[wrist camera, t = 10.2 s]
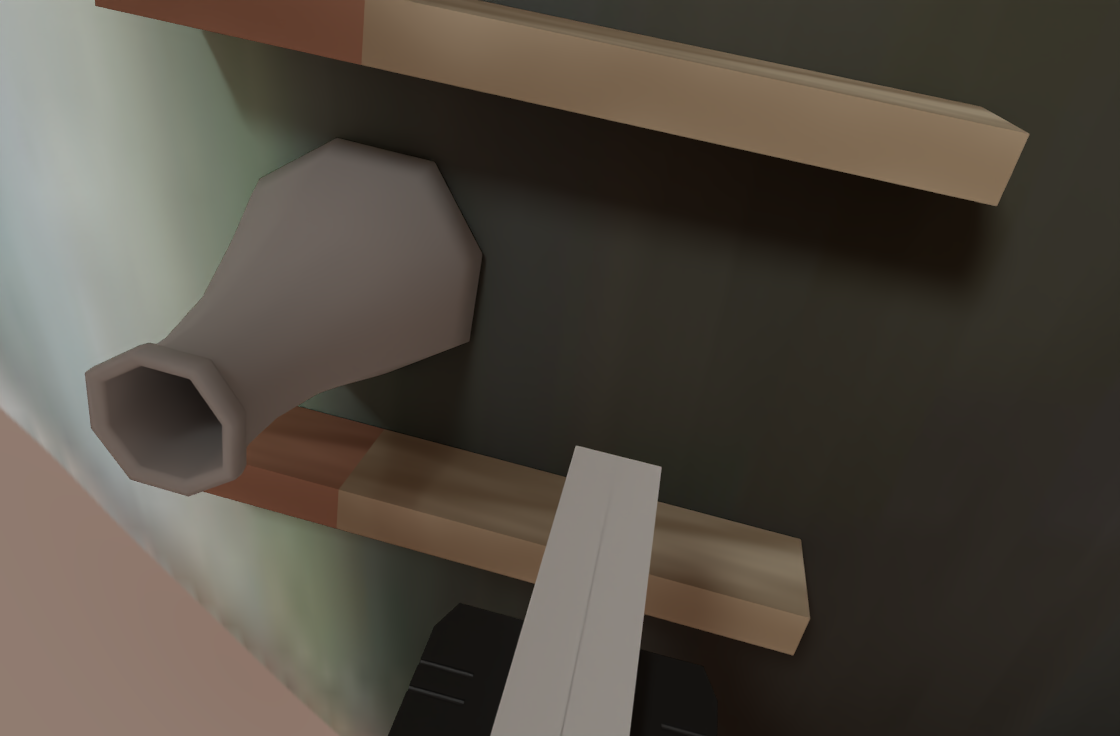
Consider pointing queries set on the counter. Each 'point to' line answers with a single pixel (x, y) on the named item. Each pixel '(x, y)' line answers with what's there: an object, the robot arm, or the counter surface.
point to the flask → (294, 313)
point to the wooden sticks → (627, 97)
